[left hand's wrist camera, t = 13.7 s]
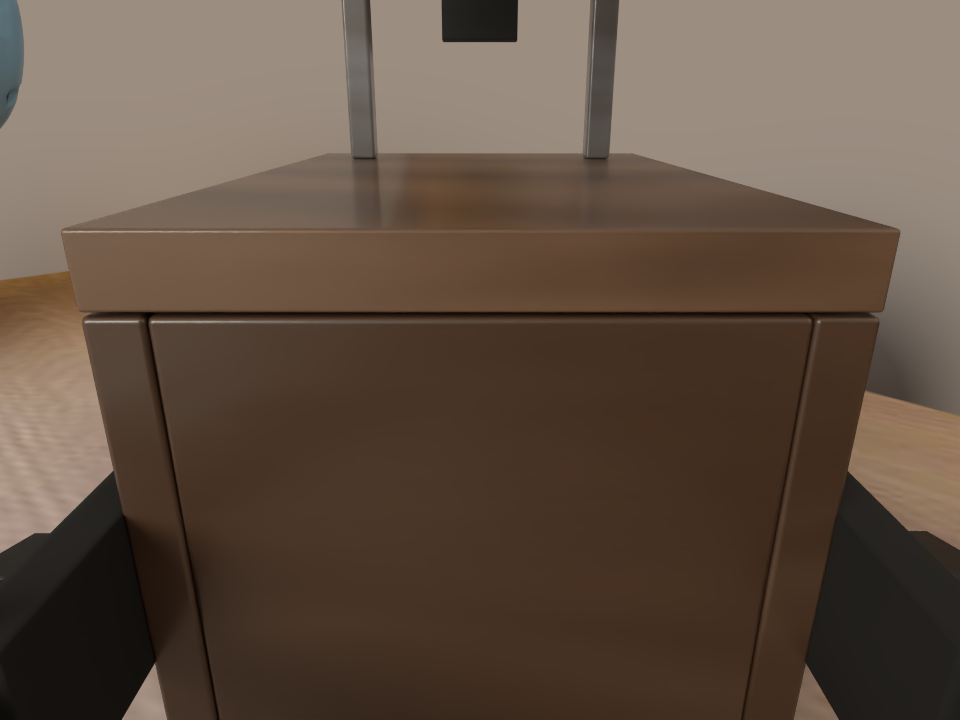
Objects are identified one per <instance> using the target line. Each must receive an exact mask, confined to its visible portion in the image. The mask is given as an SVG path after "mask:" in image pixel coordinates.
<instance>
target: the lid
mask: <svg viewBox="0 0 960 720" xmlns="http://www.w3.org/2000/svg"><path fill="white" fill-rule="evenodd" d="M618 8H619V0H591V4H590V23H589V43H588V63H587V82H586V102H585V121H584V140H583V154H378V150H377V130H376V111H375V91H374V71H373V51H372V31H371V11H370V0H342V14H343V30H344V46H345V62H346V78H347V93H348V109H349V124H350V141H351V154H325V155H321V156H318V157H314V158H310V159H307V160H303V161H300V162H296V163H293V164H289V165H286V166H282V167H279V168H275V169H272V170H268V171H265V172H261V173H257V174H254V175H250V176H247V177H243V178H240V179H236V180H233V181H229V182H226V183H222V184H219V185H215V186H212V187H208V188H205V189H201V190H197V191H194V192H190V193H187V194H183V195H180V196H176V197H173V198H169V199H166V200H162V201H159V202H155V203H152V204H148V205H144V206H141V207H137V208H134V209H130V210H127V211H123V212H120V213H116V214H113V215H109V216H106V217H102V218H99V219H95V220H92V221H88V222H85V223H81V224H77V225H74V226H71V227H67V228H64V229H62V230H61V235H62V240H63V245H64V249H65V254H66V258H67V263H68V268H69V272H70V277H71V282H72V286H73V291H74V296H75V300H76V305H77V309H78V311H80V312H882V311H883V310H884V306H885V302H886V297H887V292H888V288H889V283H890V278H891V274H892V269H893V265H894V260H895V255H896V251H897V246H898V241H899V237H900V230H899V229H897V228H894V227H890V226H887V225H883V224H879V223H876V222H872V221H869V220H865V219H862V218H858V217H855V216H851V215H848V214H844V213H841V212H837V211H833V210H830V209H826V208H823V207H819V206H816V205H812V204H809V203H805V202H802V201H798V200H795V199H791V198H788V197H784V196H780V195H777V194H773V193H770V192H766V191H763V190H759V189H756V188H752V187H749V186H745V185H742V184H738V183H734V182H731V181H727V180H724V179H720V178H717V177H713V176H710V175H706V174H703V173H699V172H696V171H692V170H689V169H685V168H681V167H678V166H674V165H671V164H667V163H664V162H660V161H657V160H653V159H649V158H646V157H643V156H639V155H636V154H609V148H610V133H611V117H612V102H613V86H614V70H615V55H616V39H617V23H618Z"/></svg>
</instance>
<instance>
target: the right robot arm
mask: <svg viewBox="0 0 960 720" xmlns="http://www.w3.org/2000/svg"><path fill="white" fill-rule="evenodd" d="M517 20H518V0H442V40H443V42H516V41H517ZM23 65H24V40H23V30H22V23H21V17H20V12H19V7H18V3H17V0H0V128H1V127H2V126H3V125H4V123H5V122H6V121H7V119H8V118H9V116H10V114H11V112H12V110H13V108H14V106H15V103H16V100H17V95H18V90H19V86H20V84H21V82H22V75H23Z"/></svg>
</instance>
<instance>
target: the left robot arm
mask: <svg viewBox="0 0 960 720" xmlns="http://www.w3.org/2000/svg"><path fill="white" fill-rule="evenodd" d="M154 663H155V660H154V655H153V651H152V646H151V641H150V637H149V632H148V627H147V623H146V618H145V614H144V609H143V604H142V600H141V595H140V590H139V586H138V581H137V576H136V572H135V567H134V562H133V558H132V553H131V548H130V544H129V539H128V534H127V530H126V525H125V521H124V516H123V511H122V507H121V502H120V497H119V493H118V488H117V483H116V479H115V474H114V471H113V472H112V473H111V474H110V475H109V476H108V477H107V478H106V479H105V480H104V481H103V482H102V483H101V484H100V485H99V486H98V487H97V488H96V489H95V490H94V491H93V492H91V493H90V494H89V495H88V496H87V497H86V498H85V499H84V500H83V501H82V502H81V503H80V504H79V505H78V506H77V507H76V508H75V509H74V510H73V511H72V512H71V513H70V514H69V515H68V516H67V517H66V518H65V519H64V520H63V521H62V522H61V523H60V524H59V525H58V526H57V527H56V528H55V529H54V530H53V531H52V532H51V533H35V534H33V535H31V536H29V537H28V538H26V539H24V540H23V541H21V542H19V543H17V544H16V545H14V546H12V547H10V548H9V549H7V550H5V551H4V552H2V553H0V720H122V718H123V716H124V715H125V713H126V711H127V710H128V708H129V706H130V704H131V703H132V701H133V699H134V698H135V696H136V694H137V692H138V691H139V689H140V687H141V686H142V684H143V682H144V681H145V679H146V677H147V675H148V674H149V672H150V670H151V669H152V667H153V665H154ZM806 664H807V666H808V667H809V669H810V671H811V672H812V674H813V676H814V678H815V679H816V681H817V683H818V684H819V686H820V688H821V690H822V691H823V693H824V695H825V696H826V698H827V700H828V701H829V703H830V705H831V707H832V708H833V710H834V712H835V713H836V715H837V717H838V719H839V720H960V550H958V549H957V548H955V547H953V546H951V545H950V544H948V543H946V542H944V541H943V540H941V539H939V538H938V537H936V536H934V535H932V534H931V533H929V532H927V531H908V530H907V529H906V528H905V527H904V526H903V525H902V524H901V523H900V522H899V521H898V520H897V519H896V518H895V517H894V516H893V515H892V514H891V513H890V512H888V511H887V510H886V509H885V508H884V507H883V506H882V505H881V504H880V503H879V502H878V501H877V500H876V499H875V498H874V497H873V496H872V495H871V494H870V493H869V492H868V491H867V490H866V489H865V488H864V487H863V486H862V485H861V484H860V483H859V482H858V481H857V480H856V479H855V478H854V477H853V476H852V475H851V474H850V473H849V472H848V471H847V475H846V480H845V485H844V489H843V494H842V498H841V503H840V508H839V512H838V516H837V521H836V525H835V530H834V535H833V539H832V544H831V549H830V553H829V558H828V562H827V567H826V572H825V576H824V581H823V586H822V590H821V595H820V599H819V604H818V609H817V613H816V618H815V623H814V627H813V632H812V636H811V641H810V646H809V650H808V655H807V660H806Z"/></svg>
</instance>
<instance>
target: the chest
mask: <svg viewBox="0 0 960 720" xmlns="http://www.w3.org/2000/svg"><path fill="white" fill-rule="evenodd" d="M82 325H83V330H84V335H85V339H86V344H87V349H88V353H89V358H90V362H91V367H92V372H93V376H94V381H95V386H96V390H97V395H98V400H99V404H100V409H101V414H102V418H103V423H104V428H105V432H106V437H107V442H108V446H109V451H110V455H111V460H112V465H113V469H114V474H115V479H116V483H117V488H118V493H119V497H120V502H121V507H122V511H123V516H124V521H125V525H126V530H127V534H128V539H129V544H130V548H131V553H132V558H133V562H134V567H135V572H136V576H137V581H138V586H139V590H140V595H141V600H142V604H143V609H144V614H145V618H146V623H147V627H148V632H149V637H150V641H151V646H152V651H153V655H154V660H155V665H156V669H157V674H158V679H159V683H160V688H161V693H162V697H163V702H164V706H165V711H166V716H167V720H794V715H795V711H796V706H797V702H798V697H799V692H800V688H801V683H802V678H803V674H804V669H805V665H806V660H807V655H808V650H809V646H810V641H811V636H812V632H813V627H814V623H815V618H816V613H817V609H818V604H819V599H820V595H821V590H822V586H823V581H824V576H825V572H826V567H827V562H828V558H829V553H830V549H831V544H832V539H833V535H834V530H835V525H836V521H837V516H838V512H839V508H840V503H841V498H842V494H843V489H844V485H845V480H846V475H847V471H848V466H849V461H850V457H851V452H852V448H853V443H854V438H855V434H856V429H857V424H858V420H859V415H860V411H861V406H862V401H863V397H864V392H865V388H866V383H867V378H868V374H869V369H870V364H871V360H872V355H873V351H874V346H875V341H876V337H877V332H878V327H879V319H878V317H876V316H874V315H872V314H870V313H868V312H93V313H91V314H89V315H87V316H85V317H84V318H83V321H82Z"/></svg>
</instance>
